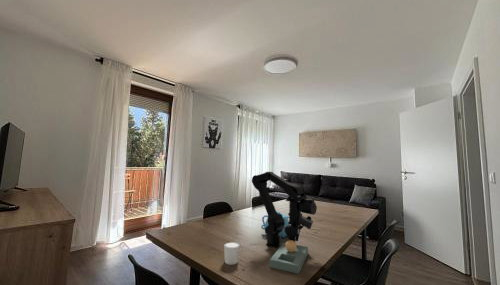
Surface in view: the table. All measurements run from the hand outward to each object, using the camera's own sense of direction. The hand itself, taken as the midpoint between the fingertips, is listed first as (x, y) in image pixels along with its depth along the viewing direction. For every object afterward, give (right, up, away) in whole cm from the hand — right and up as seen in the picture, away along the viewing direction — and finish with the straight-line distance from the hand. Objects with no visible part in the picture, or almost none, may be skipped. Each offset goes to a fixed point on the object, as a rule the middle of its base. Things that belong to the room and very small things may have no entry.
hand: (295, 243), depth 104 cm
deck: (-4, -3, -9) cm, 10 cm away
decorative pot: (-5, -7, +26) cm, 27 cm away
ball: (-3, +2, -7) cm, 8 cm away
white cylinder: (-30, -2, -12) cm, 33 cm away
